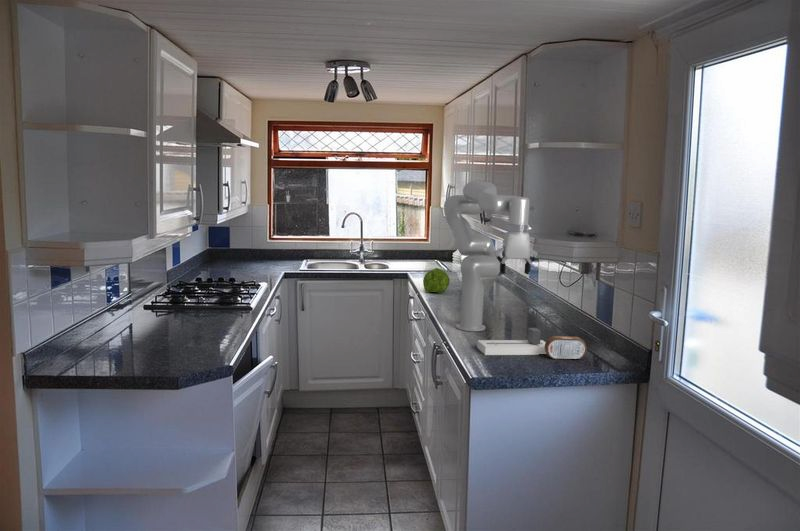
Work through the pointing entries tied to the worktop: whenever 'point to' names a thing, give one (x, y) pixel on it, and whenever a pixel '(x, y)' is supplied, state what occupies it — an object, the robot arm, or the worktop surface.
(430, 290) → the lettuce
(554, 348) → the tin
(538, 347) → the console
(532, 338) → the fader tab
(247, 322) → the worktop surface
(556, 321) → the worktop surface
